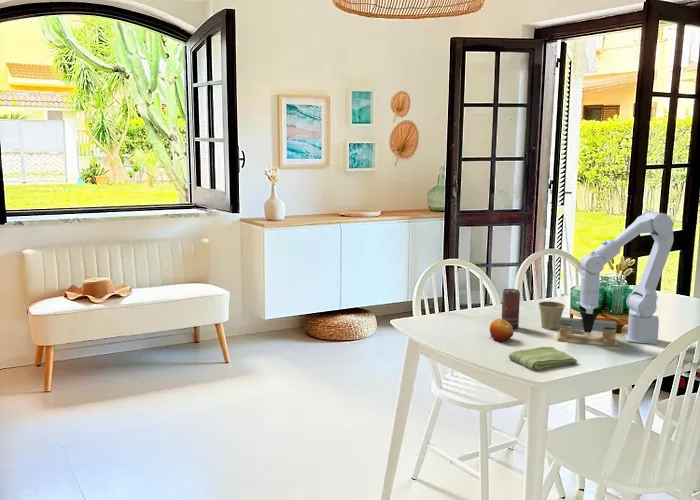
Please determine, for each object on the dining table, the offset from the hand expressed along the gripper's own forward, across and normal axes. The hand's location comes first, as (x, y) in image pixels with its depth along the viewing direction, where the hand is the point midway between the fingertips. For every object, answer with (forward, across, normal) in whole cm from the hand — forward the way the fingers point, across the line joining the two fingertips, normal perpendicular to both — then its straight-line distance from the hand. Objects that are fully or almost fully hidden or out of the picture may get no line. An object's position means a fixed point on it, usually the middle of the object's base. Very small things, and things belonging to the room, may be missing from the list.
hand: (587, 329), depth 222 cm
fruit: (+4, +8, -28) cm, 29 cm away
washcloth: (+5, +27, -14) cm, 31 cm away
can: (+4, -8, -26) cm, 28 cm away
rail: (0, 0, 0) cm, 0 cm away
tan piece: (+4, 0, 0) cm, 4 cm away
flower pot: (+4, -13, -12) cm, 18 cm away
